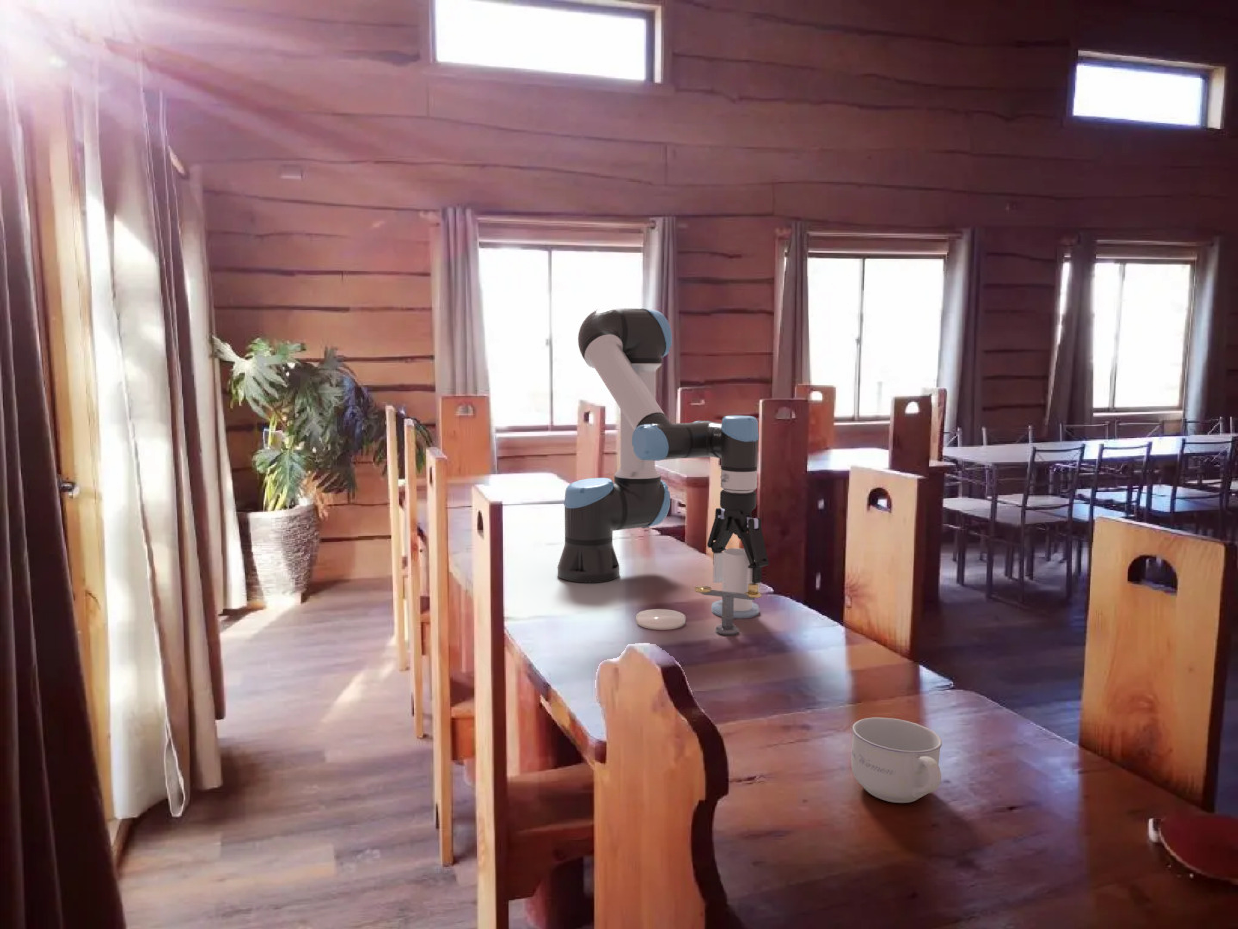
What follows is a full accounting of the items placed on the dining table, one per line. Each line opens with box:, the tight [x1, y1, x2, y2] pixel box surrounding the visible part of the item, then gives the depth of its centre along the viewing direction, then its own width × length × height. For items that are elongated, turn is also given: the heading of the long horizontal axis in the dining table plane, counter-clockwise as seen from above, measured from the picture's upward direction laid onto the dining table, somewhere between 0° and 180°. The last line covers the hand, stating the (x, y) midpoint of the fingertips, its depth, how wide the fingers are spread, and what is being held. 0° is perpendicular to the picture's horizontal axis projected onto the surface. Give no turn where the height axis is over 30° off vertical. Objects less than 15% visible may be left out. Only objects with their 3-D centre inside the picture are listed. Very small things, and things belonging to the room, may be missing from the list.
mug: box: [721, 547, 755, 612], centre depth 188 cm, size 10×7×12 cm, turn 10°
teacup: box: [850, 716, 943, 804], centre depth 111 cm, size 14×11×8 cm
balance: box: [694, 583, 762, 637], centre depth 175 cm, size 4×15×10 cm, turn 116°
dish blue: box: [711, 599, 760, 619], centre depth 189 cm, size 10×10×1 cm
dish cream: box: [635, 608, 686, 631], centre depth 181 cm, size 10×10×1 cm
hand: (735, 589), depth 188 cm, fingers open, 12 cm apart
